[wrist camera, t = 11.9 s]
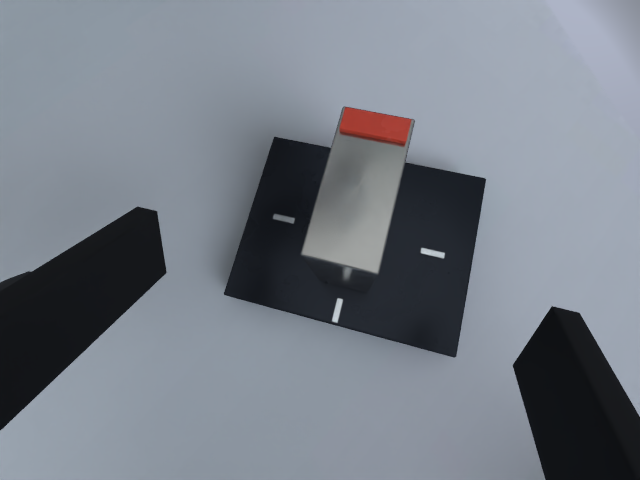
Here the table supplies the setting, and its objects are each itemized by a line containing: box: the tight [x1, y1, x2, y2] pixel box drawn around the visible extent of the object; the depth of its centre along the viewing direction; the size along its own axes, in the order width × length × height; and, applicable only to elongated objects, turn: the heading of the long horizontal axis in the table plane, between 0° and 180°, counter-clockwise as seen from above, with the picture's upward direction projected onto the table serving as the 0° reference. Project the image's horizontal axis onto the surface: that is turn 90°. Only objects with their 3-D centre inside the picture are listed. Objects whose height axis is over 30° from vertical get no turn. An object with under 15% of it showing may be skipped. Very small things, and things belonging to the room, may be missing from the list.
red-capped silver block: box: [301, 107, 415, 293], centre depth 17 cm, size 6×3×8 cm, turn 165°
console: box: [224, 137, 486, 357], centre depth 22 cm, size 14×11×2 cm
